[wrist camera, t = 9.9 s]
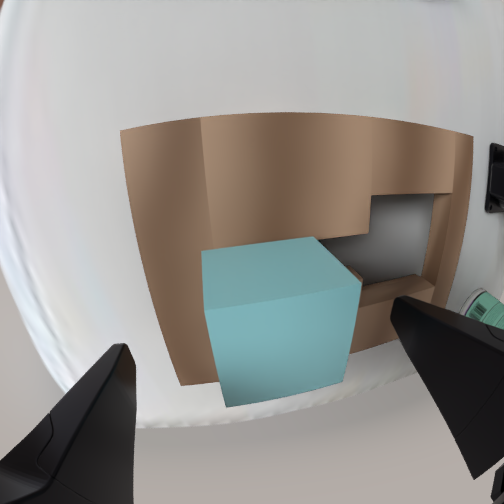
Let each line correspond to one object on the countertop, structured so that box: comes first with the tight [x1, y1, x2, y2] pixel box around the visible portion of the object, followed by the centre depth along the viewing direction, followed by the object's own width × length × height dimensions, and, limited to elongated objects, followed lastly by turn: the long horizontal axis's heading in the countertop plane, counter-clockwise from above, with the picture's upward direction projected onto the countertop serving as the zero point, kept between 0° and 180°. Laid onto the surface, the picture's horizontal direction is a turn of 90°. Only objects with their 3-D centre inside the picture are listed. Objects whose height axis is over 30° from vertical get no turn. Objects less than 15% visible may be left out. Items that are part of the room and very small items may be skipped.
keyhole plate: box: [120, 112, 473, 386], centre depth 14 cm, size 18×13×4 cm
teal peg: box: [201, 236, 362, 407], centre depth 11 cm, size 4×4×9 cm
